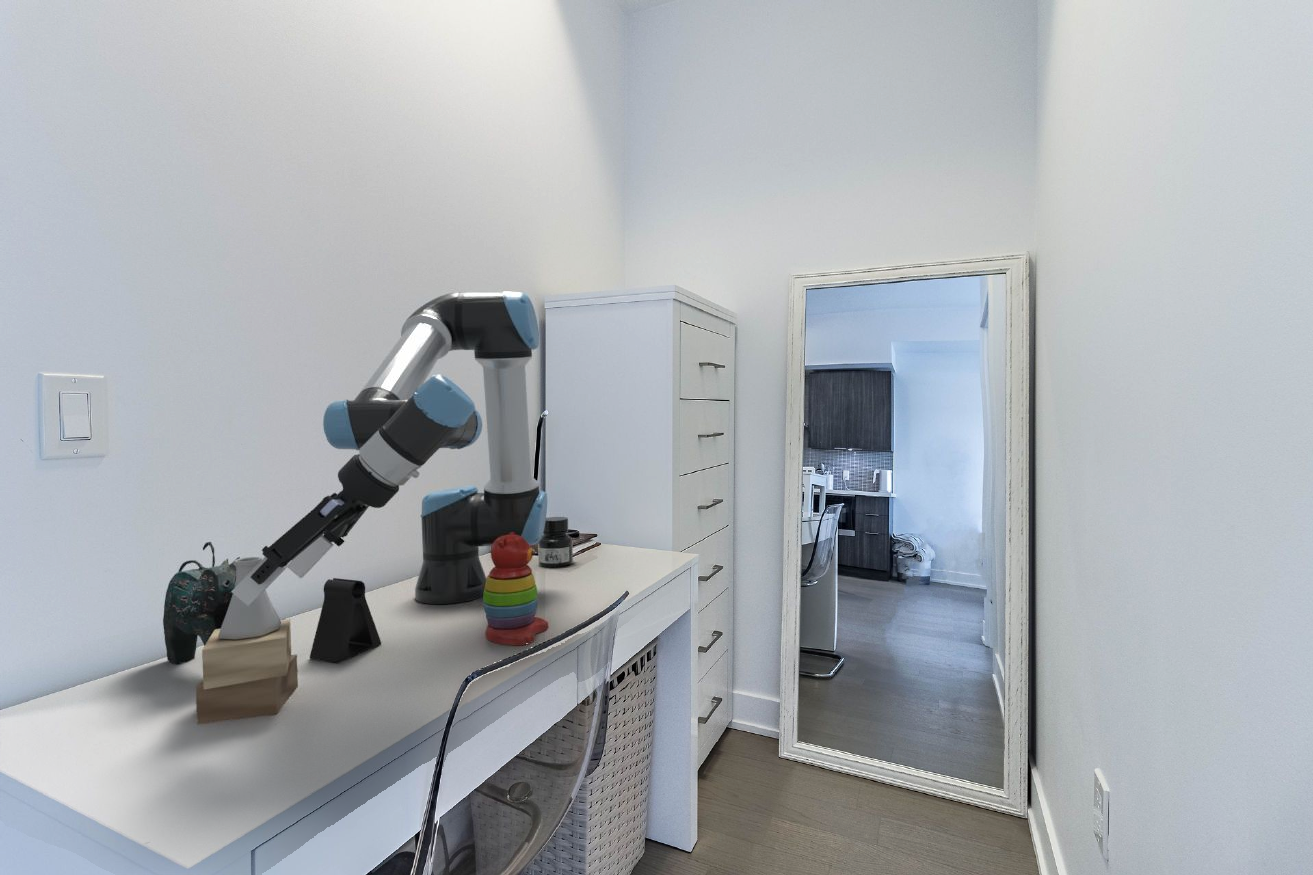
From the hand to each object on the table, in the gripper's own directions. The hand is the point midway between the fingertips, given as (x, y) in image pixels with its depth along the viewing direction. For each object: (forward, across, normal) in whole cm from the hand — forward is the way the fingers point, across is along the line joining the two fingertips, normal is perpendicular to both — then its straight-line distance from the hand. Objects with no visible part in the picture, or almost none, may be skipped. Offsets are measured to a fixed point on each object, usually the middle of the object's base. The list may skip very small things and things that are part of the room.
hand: (269, 584), depth 85 cm
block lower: (+14, -1, -10) cm, 17 cm away
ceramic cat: (+24, +13, +1) cm, 27 cm away
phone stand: (+10, +18, -13) cm, 24 cm away
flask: (+7, 0, -3) cm, 7 cm away
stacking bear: (-9, +23, -32) cm, 40 cm away
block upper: (+10, -1, -6) cm, 12 cm away
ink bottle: (-11, +77, -35) cm, 85 cm away
